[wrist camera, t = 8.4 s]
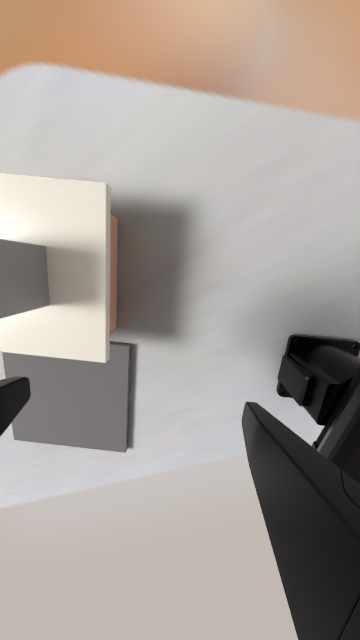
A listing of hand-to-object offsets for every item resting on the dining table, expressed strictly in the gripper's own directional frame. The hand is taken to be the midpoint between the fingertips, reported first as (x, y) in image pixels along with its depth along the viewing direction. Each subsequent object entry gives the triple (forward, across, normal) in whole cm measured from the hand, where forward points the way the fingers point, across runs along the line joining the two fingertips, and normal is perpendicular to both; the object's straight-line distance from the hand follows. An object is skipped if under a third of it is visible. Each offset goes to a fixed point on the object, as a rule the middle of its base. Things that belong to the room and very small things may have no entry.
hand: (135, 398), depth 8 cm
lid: (+7, +10, -4) cm, 13 cm away
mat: (+12, +10, +9) cm, 18 cm away
